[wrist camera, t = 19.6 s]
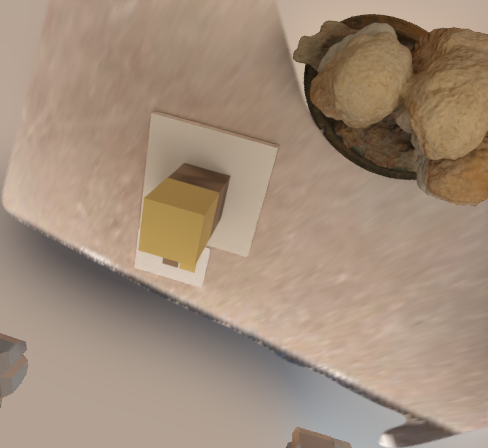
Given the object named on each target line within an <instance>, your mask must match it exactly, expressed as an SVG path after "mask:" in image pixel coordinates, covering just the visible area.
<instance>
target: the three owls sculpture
mask: <svg viewBox="0 0 488 448" xmlns="http://www.w3.org/2000/svg"><path fill="white" fill-rule="evenodd" d="M293 59H294V60H295V61H296V62H300V63H305V64H306V65H305V72H304V88H305V89H304V90H305V96H306V100H307V104H308V107H309V110H310V113H311V115H312V117H313V119H314V121H315V123H316V125H317V126H318V128H319V129H320V130H321V129H323V126H326V134H325V132H324V133H323V134H324V136H325V138H326V139H327V140H328V141H329V142H330V143H331V144H332V146H333V147H334V148H336V150H338V151H339V152H340V153H341V154H342V155H344V156H345V157H346V158H347V159H349V160H350V161H352V162H353V163H355V164H356V165H358V166H360V167H362V168H364V169H366V170H368V171H370V172H372V173H376V174H379V175H382V176H385V177H389V178H395V179H404V180H405V179H406V180H410V179H413V180H415V179H417V184H418V186H419V188H420V189H422V190H423V191H424V192H425V193H426V194H427V195H431V196H434V197H436V198H440V199H441V200H445V201H448V202H450V203H455V204H457V205H468V204H469V205H472V206H476V205H477V204H479V203H480V202H481V201H484V200H486V199H487V198H488V34H484V33H480V32H474V31H472V30H469V29H460V28H440V29H434V30H433V31H431V32H430V33H429V32H427V31H426V30H424V29H422V28H421V27H419V26H417V25H415V24H412V23H410V22H407V21H404V20H402V19H399V18H395V17H391V16H386V15H376V14H371V15H370V14H369V15H360V16H354V17H351V18H347V19H345V20H343V21H341V22H336V21H326V22H325V23H324V24H323V25H322V26H321V30H320V32H319V33H317V34H315V35H314V36H311V37H309V36H303V37H302V38H301V39H300V41H299V44H298V48H297V50H295V51H294V54H293Z"/></svg>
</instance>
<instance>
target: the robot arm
mask: <svg viewBox="0 0 488 448" xmlns="http://www.w3.org/2000/svg"><path fill="white" fill-rule="evenodd" d="M26 350H27V347H26V342H25V341H22V340H19V339H16V338H13V337H10V336H7V335H4V334H1V333H0V407H1V403H2V398H3V397H5V396H7V395H10V394H11V393H13V392H14V391H15V390H16V389H17V388H18V386H19V385H20V384H21V382H22V380H23V379H24V377H25V375H26V373H27V368H28V360H27V359H26V357H25V356H24V355H23V353H24V352H25V351H26ZM286 448H352V447H351V445H350V443H348V442H345V441H341V440H338V439H334V438H331V437H330V436H327V435H323V434H320V433H317V432H313V431H310V430H306V429H303V428H300V427H297V428H295V430H294V432H293V434H292V442H289V443H288V444H287V447H286Z"/></svg>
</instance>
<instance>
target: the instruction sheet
mask: <svg viewBox="0 0 488 448" xmlns="http://www.w3.org/2000/svg"><path fill="white" fill-rule="evenodd" d="M140 230H141V228H140V227H139V229H138V239H137V249H136V258H135V268H137V269H140V270H143V271H147V272H150V273H153V274H157V275H160V276H163V277H167V278H170V279H173V280H177V281H180V282H183V283H187V284H190V285H193V286H197V287H200V288H202V286H203V282H204V277H205V273H206V268H207V264H208V259H209V255H210V250H211V248H208V247H205V248H204V250H203V252H202V254H201V256H200V257H199V259H198V261H197V263H196V265H195V267H193V266H189V265H186V264H183V263H179V262H176V261H173V260H169V259H166V258H163V257H159V256H156V255H153V254H149V253H146V252H143V251H139V250H138V248H139V239H140Z"/></svg>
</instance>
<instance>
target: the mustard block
mask: <svg viewBox="0 0 488 448" xmlns="http://www.w3.org/2000/svg"><path fill="white" fill-rule="evenodd" d="M218 197H219V192H215V191H212V190H209V189H205V188H202V187H198V186H195V185H191V184H188V183H184V182H181V181H177V180H174V179H170V178H166V179H165V180H164V181H162V182H161V183H160V184H159V185H158V186H157V187H156V188H155V189H153V190H152V191H151V192H150V193H149V194H148V195H147V196H146V197H144V203H143V212H142V221H141V230H140V239H139V248H138V250H139V251H143V252H146V253H149V254H153V255H156V256H159V257H163V258H166V259H169V260H173V261H176V262H179V263H183V264H186V265H189V266H193V267H195V265H196V263H197V261H198V259H199V257H200V256H201V254H202V252H203V250H204V248H205V246H206V244H207V243H208V241H209V239H210V234H211V230H212V225H213V220H214V216H215V211H216V207H217V202H218Z"/></svg>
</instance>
